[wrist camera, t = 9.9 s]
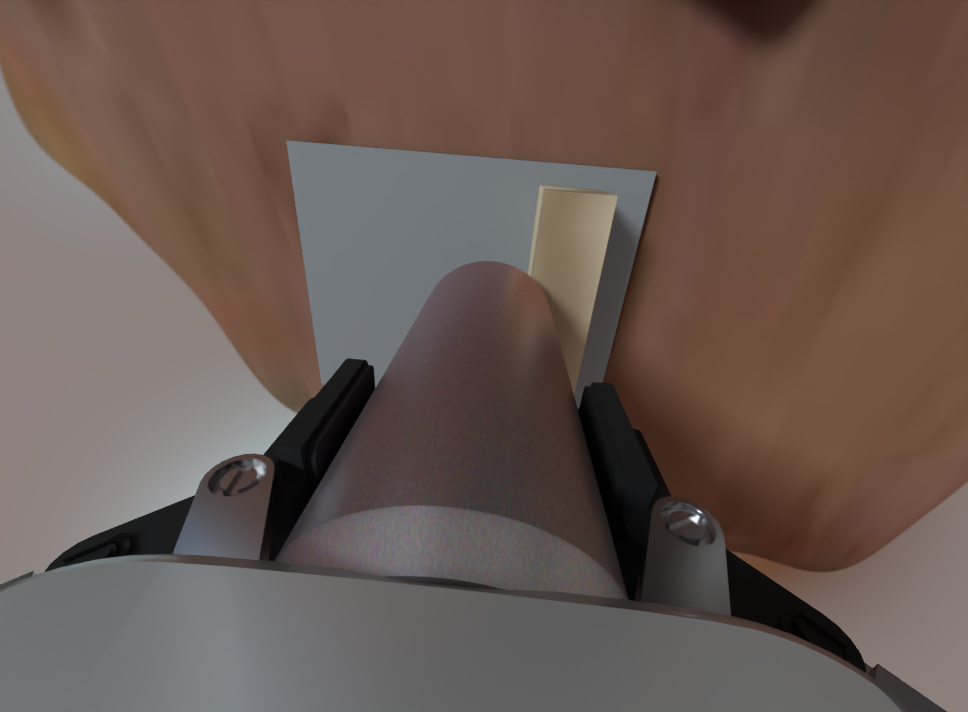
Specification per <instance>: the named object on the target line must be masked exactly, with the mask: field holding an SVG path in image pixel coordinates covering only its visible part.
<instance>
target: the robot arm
mask: <svg viewBox="0 0 968 712" xmlns="http://www.w3.org/2000/svg"><path fill="white" fill-rule="evenodd" d="M374 390H375V376H374V367H373V366H372V365H368V362H367V361H366V360H361V359H350V358H347V359H346V360H345V361H344V362H343V363H342V365H341V366H340V367H339V368H338V369H337V371H336V372H335V373H334V374H333V376H332V377H331V378H330V379H329V380H328V382H327V383H326V384H325V385H324V387H323V388H322V389H321V390H320V391H319V393H318V394H317V395H316V396H315V398H311V399H310V400H309V401H308V402H307V403H306V404H305V405H304V407H303V408H302V409H301V410H300V411H299V413H298V414H297V415H296V416H295V417H294V419H293V420H292V421H291V422H290V423H289V425H288V426H287V427H286V428H285V430H284V431H283V432H282V433H281V434H280V435H279V437H278V438H277V439H276V440H275V442H274V443H273V444H272V445H271V446H270V447H269V449H268V450H267V451H266V452H265V454H264V455H260V454H244V455H240V456H235V457H232V458H230V459H227V460H225V461H222V462H221V463H219V464H218V465H216V466H215V467H213V468H212V469H211V470H210V471H209V472H207V473H206V474H205V475H204V477H203V479H202V480H201V482H200V484H199V487H198V489H197V492H196V494H195V496H192V497H189V498H187V499H184V500H182V501H179V502H177V503H174V504H172V505H169V506H167V507H164V508H162V509H159V510H157V511H154V512H152V513H149V514H147V515H145V516H142V517H139V518H137V519H134V520H132V521H129V522H127V523H124V524H122V525H119V526H117V527H114V528H112V529H109V530H107V531H104V532H102V533H99V534H97V535H94V536H92V537H90V538H88V539H86V540H84V541H81V542H79V543H77V544H76V545H74V546H73V547H71V548H70V549H68V550H67V551H65V552H63V553H62V554H61V555H60V556H59V557H58V558H57V559H55V560H54V561H53V562H52V563H51V564H50V565H49V567H48V568H47V569H46V570H45V572H43V573H40V574H37V575H36V574H35V572H34V571H32V572H29V573H27V574H25V575H22V576H20V577H17V578H15V579H12V580H10V581H8V582H5V583H3V584H0V712H947V711H945V710H944V709H942V708H941V707H939V706H938V705H936V704H935V703H933V702H932V701H931V700H929V699H928V698H926V697H925V696H923V695H922V694H920V693H919V692H918V691H916V690H915V689H913V688H912V687H910V686H909V685H908V684H906V683H905V682H903V681H902V680H900V679H899V678H898V677H896V676H895V675H893V674H892V673H890V672H889V671H887V670H886V669H885V668H883V667H882V666H880V665H879V664H877V665H876V666H875V667H874V668H871V667H870V666H868V665H867V664H866V663H864V661H863V659H862V656H861V654H860V652H859V650H858V649H857V648H856V646H855V645H854V643H853V642H852V641H851V639H850V638H849V637H848V636H847V635H846V634H845V633H844V632H843V631H842V630H841V629H840V628H839V627H838V626H837V625H836V624H835V623H834V622H832V621H831V620H830V619H828V618H827V617H826V616H825V615H823V614H822V613H820V612H819V611H818V610H816V609H815V608H813V607H812V606H810V605H809V604H807V603H806V602H804V601H803V600H801V599H800V598H798V597H797V596H795V595H794V594H792V593H791V592H789V591H788V590H786V589H785V588H783V587H782V586H780V585H779V584H777V583H776V582H774V581H773V580H771V579H770V578H769V577H767V576H766V575H764V574H762V573H761V572H760V571H758V570H757V569H755V568H754V567H752V566H751V565H749V564H748V563H746V562H745V561H743V560H742V559H740V558H738V557H737V556H736V555H734V554H733V553H731V552H730V551H728V550H727V549H725V537H724V534H723V530H722V528H721V526H720V525H719V523H718V521H717V520H716V519H715V518H714V517H713V516H712V515H711V514H710V513H709V512H708V511H707V510H705V509H704V508H702V507H701V506H700V505H698V504H696V503H694V502H692V501H690V500H687V499H684V498H680V497H671V494H670V492H669V490H668V488H667V486H666V484H665V482H664V480H663V477H662V475H661V473H660V471H659V469H658V467H657V465H656V463H655V461H654V458H653V456H652V454H651V452H650V450H649V448H648V446H647V444H646V442H645V439H644V437H643V435H642V433H641V432H640V431H639V430H637V429H632V426H631V424H630V422H629V420H628V417H627V415H626V413H625V411H624V408H623V406H622V404H621V402H620V399H619V397H618V395H617V393H616V390H615V388H614V386H613V384H610V383H600V382H592V383H591V385H590V386H585V387H584V390H583V394H582V398H581V403H580V407H579V411H578V412H579V416H580V420H581V423H582V427H583V431H584V435H585V438H586V442H587V446H588V449H589V453H590V457H591V461H592V464H593V468H594V472H595V475H596V479H597V483H598V487H599V490H600V494H601V498H602V501H603V505H604V509H605V513H606V516H607V520H608V524H609V528H610V531H611V535H612V539H613V542H614V546H615V550H616V554H617V557H618V561H619V565H620V568H621V572H622V576H623V580H624V583H625V587H626V591H627V595H628V598H629V600H625V599H617V598H608V597H599V596H590V595H582V594H573V593H564V592H555V591H524V590H500V589H482V588H469V587H457V586H447V585H438V584H429V583H421V582H414V581H407V580H400V579H394V578H388V577H382V576H376V575H371V574H365V573H360V572H355V571H350V570H344V569H340V568H333V567H323V566H314V565H304V564H294V563H284V562H274V561H275V559H276V557H277V555H278V554H279V552H280V550H281V549H282V547H283V545H284V543H285V542H286V540H287V538H288V537H289V535H290V533H291V532H292V530H293V528H294V526H295V525H296V523H297V521H298V520H299V518H300V516H301V514H302V513H303V511H304V509H305V508H306V506H307V504H308V502H309V501H310V499H311V497H312V496H313V494H314V492H315V491H316V489H317V487H318V485H319V484H320V482H321V480H322V479H323V477H324V475H325V473H326V472H327V470H328V468H329V467H330V465H331V463H332V461H333V460H334V458H335V456H336V455H337V453H338V451H339V450H340V448H341V446H342V444H343V443H344V441H345V439H346V438H347V436H348V434H349V432H350V431H351V429H352V427H353V426H354V424H355V422H356V421H357V419H358V417H359V415H360V414H361V412H362V410H363V409H364V407H365V405H366V403H367V402H368V400H369V398H370V397H371V395H372V393H373V391H374Z"/></svg>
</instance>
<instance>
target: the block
mask: <svg viewBox="0 0 968 712" xmlns="http://www.w3.org/2000/svg"><path fill="white" fill-rule="evenodd" d="M617 198H618V196H616V195H613V194H611V193H608V192H605V191H602V190H596V189H584V188H572V187H561V186H549V185H539V190H538V198H537V205H536V213H535V221H534V229H533V236H532V244H531V252H530V260H529V267H528V275H529V276H530V277H532V278H533V279H534V280H535V281H536V282H537V283H538V285H539V286H540V287H541V289H542V290H543V292H544V293H545V295H546V297H547V299H548V302H549V305H550V308H551V312H552V315H553V319H554V323H555V327H556V330H557V334H558V338H559V341H560V345H561V349H562V353H563V356H564V360H565V364H566V368H567V371H568V375H569V379H570V382H571V386H572V390H573V394H575V389H576V385H577V380H578V375H579V371H580V366H581V362H582V357H583V353H584V348H585V344H586V339H587V334H588V330H589V325H590V321H591V316H592V312H593V307H594V303H595V298H596V293H597V289H598V284H599V280H600V275H601V271H602V266H603V262H604V257H605V252H606V248H607V243H608V239H609V234H610V230H611V225H612V221H613V216H614V211H615V207H616V202H617Z"/></svg>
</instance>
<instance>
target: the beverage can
mask: <svg viewBox="0 0 968 712" xmlns="http://www.w3.org/2000/svg"><path fill="white" fill-rule="evenodd" d="M274 562H284V563H294V564H304V565H314V566H323V567H333V568H340V569H344V570H350V571H355V572H360V573H365V574H371V575H376V576H382V577H388V578H394V579H400V580H407V581H414V582H421V583H429V584H438V585H447V586H457V587H469V588H482V589H500V590H524V591H555V592H564V593H573V594H582V595H590V596H599V597H608V598H617V599H625V600H629V598H628V595H627V591H626V587H625V583H624V580H623V576H622V572H621V568H620V565H619V561H618V557H617V554H616V550H615V546H614V542H613V539H612V535H611V531H610V528H609V524H608V520H607V516H606V513H605V509H604V505H603V501H602V498H601V494H600V490H599V487H598V483H597V479H596V475H595V472H594V468H593V464H592V461H591V457H590V453H589V449H588V446H587V442H586V438H585V435H584V431H583V427H582V423H581V420H580V416H579V412H578V408H577V405H576V401H575V397H574V394H573V390H572V386H571V382H570V379H569V375H568V371H567V368H566V364H565V360H564V356H563V353H562V349H561V345H560V341H559V338H558V334H557V330H556V327H555V323H554V319H553V315H552V312H551V308H550V305H549V302H548V299H547V297H546V295H545V293H544V292H543V290H542V289H541V287H540V286H539V285H538V283H537V282H536V281H535V280H534V279H533V278H532V277H530V276H529V275H528V274H527V273H525V272H524V271H522V270H520V269H518V268H516V267H514V266H512V265H509V264H506V263H501V262H495V261H479V262H473V263H469V264H466V265H463V266H460V267H458V268H456V269H454V270H453V271H451V272H450V273H448V274H447V275H446V276H445V277H443V278H442V279H441V280H440V281H439V282H438V284H437V285H436V286H435V288H434V289H433V291H432V292H431V294H430V296H429V298H428V299H427V301H426V303H425V304H424V306H423V308H422V309H421V311H420V313H419V315H418V316H417V318H416V320H415V321H414V323H413V325H412V327H411V328H410V330H409V332H408V333H407V335H406V337H405V339H404V340H403V342H402V344H401V345H400V347H399V349H398V350H397V352H396V354H395V356H394V357H393V359H392V361H391V362H390V364H389V366H388V368H387V369H386V371H385V373H384V374H383V376H382V378H381V380H380V381H379V383H378V385H377V386H376V388H375V390H374V391H373V393H372V395H371V397H370V398H369V400H368V402H367V403H366V405H365V407H364V409H363V410H362V412H361V414H360V415H359V417H358V419H357V421H356V422H355V424H354V426H353V427H352V429H351V431H350V432H349V434H348V436H347V438H346V439H345V441H344V443H343V444H342V446H341V448H340V450H339V451H338V453H337V455H336V456H335V458H334V460H333V461H332V463H331V465H330V467H329V468H328V470H327V472H326V473H325V475H324V477H323V479H322V480H321V482H320V484H319V485H318V487H317V489H316V491H315V492H314V494H313V496H312V497H311V499H310V501H309V502H308V504H307V506H306V508H305V509H304V511H303V513H302V514H301V516H300V518H299V520H298V521H297V523H296V525H295V526H294V528H293V530H292V532H291V533H290V535H289V537H288V538H287V540H286V542H285V543H284V545H283V547H282V549H281V550H280V552H279V554H278V555H277V557H276V559H275V561H274Z"/></svg>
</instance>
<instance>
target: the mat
mask: <svg viewBox="0 0 968 712" xmlns="http://www.w3.org/2000/svg"><path fill="white" fill-rule="evenodd" d="M286 142H287V148H288V155H289V162H290V169H291V176H292V183H293V190H294V197H295V204H296V211H297V218H298V224H299V231H300V238H301V245H302V252H303V259H304V266H305V273H306V280H307V287H308V294H309V300H310V307H311V314H312V321H313V328H314V335H315V342H316V349H317V356H318V363H319V370H320V376H321V383H322V384H324V385H325V384H326V383H327V382H328V380H329V379H330V378H331V377H332V376H333V374H334V373H335V372H336V371H337V369H338V368H339V367H340V366H341V365H342V363H343V362H344V361H345V360H346V359H347V358H350V359H361V360H366V361H367V362H368V365H372V366H373V367H374V376H375V388H376V386H377V385H378V383H379V381H380V380H381V378H382V376H383V374H384V373H385V371H386V369H387V368H388V366H389V364H390V362H391V361H392V359H393V357H394V356H395V354H396V352H397V350H398V349H399V347H400V345H401V344H402V342H403V340H404V339H405V337H406V335H407V333H408V332H409V330H410V328H411V327H412V325H413V323H414V321H415V320H416V318H417V316H418V315H419V313H420V311H421V309H422V308H423V306H424V304H425V303H426V301H427V299H428V298H429V296H430V294H431V292H432V291H433V289H434V288H435V286H436V285H437V284H438V282H439V281H440V280H441V279H442V278H443V277H445V276H446V275H447V274H448V273H450V272H451V271H453V270H454V269H456V268H458V267H460V266H463V265H466V264H469V263H473V262H479V261H495V262H501V263H506V264H509V265H512V266H514V267H516V268H518V269H520V270H522V271H524V272H525V273H527V274H528V267H529V260H530V252H531V244H532V236H533V229H534V221H535V213H536V205H537V198H538V190H539V185H549V186H561V187H572V188H584V189H596V190H602V191H605V192H608V193H611V194H613V195H616V196H618V198H617V202H616V207H615V211H614V216H613V221H612V225H611V230H610V234H609V239H608V243H607V248H606V252H605V257H604V262H603V266H602V271H601V275H600V280H599V284H598V289H597V293H596V298H595V303H594V307H593V312H592V316H591V321H590V325H589V330H588V334H587V339H586V344H585V348H584V353H583V357H582V362H581V366H580V371H579V375H578V380H577V385H576V389H575V394H574V397H575V401H576V405H577V408H578V409H579V407H580V403H581V398H582V394H583V390H584V387H585V386H590V385H591V383H592V382H600V383H603V379H604V375H605V371H606V368H607V364H608V360H609V356H610V352H611V348H612V344H613V340H614V336H615V332H616V328H617V325H618V321H619V317H620V313H621V309H622V305H623V301H624V297H625V293H626V289H627V286H628V282H629V278H630V274H631V270H632V266H633V262H634V258H635V254H636V250H637V247H638V243H639V239H640V235H641V231H642V227H643V223H644V219H645V215H646V211H647V207H648V204H649V200H650V196H651V192H652V188H653V184H654V180H655V176H656V172H655V171H643V170H631V169H619V168H607V167H595V166H584V165H572V164H560V163H548V162H536V161H524V160H512V159H500V158H488V157H476V156H464V155H452V154H441V153H429V152H417V151H405V150H393V149H381V148H369V147H357V146H345V145H333V144H321V143H309V142H297V141H286Z"/></svg>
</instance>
